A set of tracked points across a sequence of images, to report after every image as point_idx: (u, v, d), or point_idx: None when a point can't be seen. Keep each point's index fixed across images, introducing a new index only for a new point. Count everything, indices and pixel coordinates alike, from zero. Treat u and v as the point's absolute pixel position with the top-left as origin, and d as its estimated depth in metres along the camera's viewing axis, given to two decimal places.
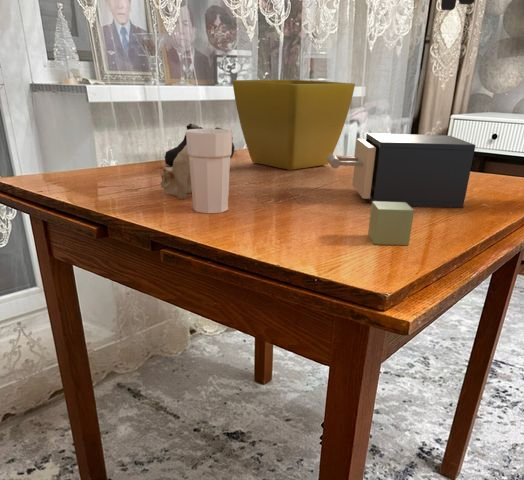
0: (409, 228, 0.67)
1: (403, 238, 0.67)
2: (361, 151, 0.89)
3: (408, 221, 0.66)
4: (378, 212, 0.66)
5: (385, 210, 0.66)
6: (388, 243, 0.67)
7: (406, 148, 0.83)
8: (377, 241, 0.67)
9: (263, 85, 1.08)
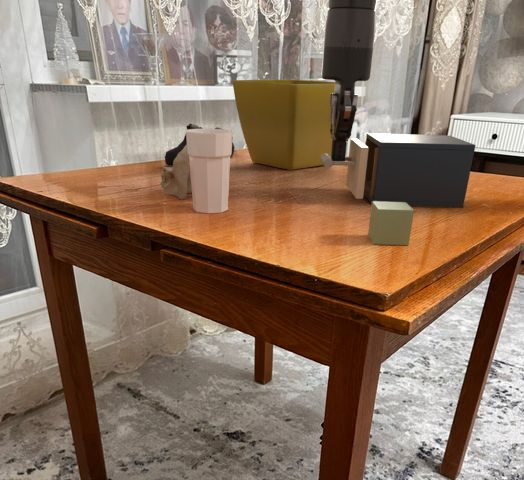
0: (409, 228, 0.67)
1: (403, 238, 0.67)
2: (354, 151, 0.89)
3: (408, 221, 0.66)
4: (378, 212, 0.66)
5: (385, 210, 0.66)
6: (388, 243, 0.67)
7: (406, 148, 0.83)
8: (377, 241, 0.67)
9: (263, 84, 1.08)
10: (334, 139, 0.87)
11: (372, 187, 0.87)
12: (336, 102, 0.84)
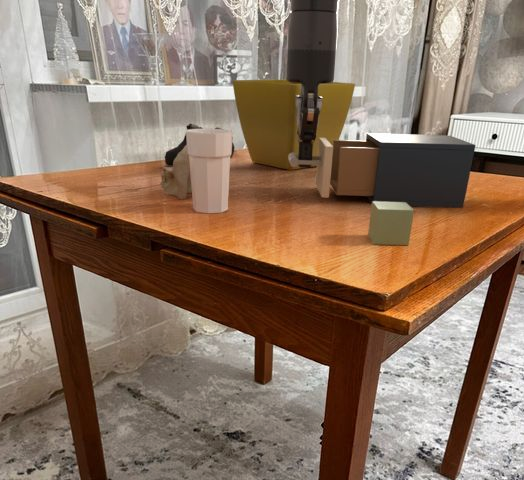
0: (409, 228, 0.67)
1: (403, 238, 0.67)
2: (321, 150, 0.89)
3: (408, 221, 0.66)
4: (378, 212, 0.66)
5: (385, 210, 0.66)
6: (388, 243, 0.67)
7: (406, 148, 0.83)
8: (377, 241, 0.67)
9: (263, 84, 1.08)
10: (300, 141, 0.87)
11: (338, 186, 0.87)
12: (300, 104, 0.84)
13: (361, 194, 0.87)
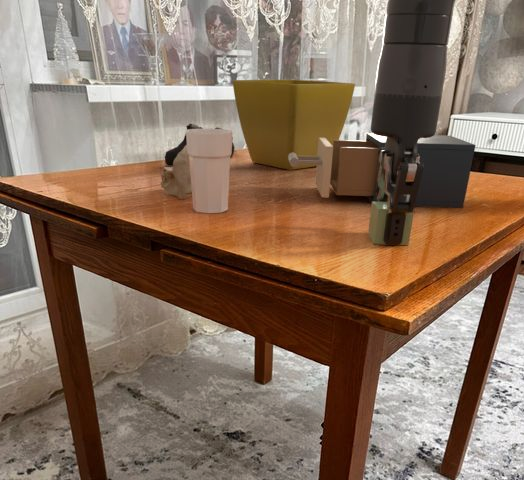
0: (409, 228, 0.67)
1: (403, 238, 0.67)
2: (321, 150, 0.89)
3: (408, 221, 0.66)
4: (378, 212, 0.66)
5: (385, 210, 0.66)
6: None
7: None
8: (377, 241, 0.67)
9: (263, 84, 1.08)
10: (390, 212, 0.65)
11: (338, 186, 0.87)
12: None
13: (361, 194, 0.87)
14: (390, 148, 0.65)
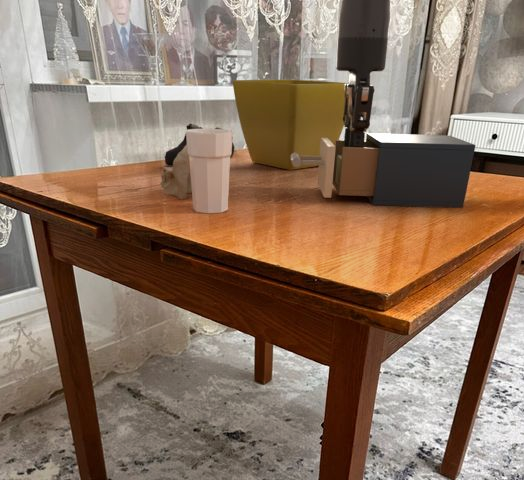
0: None
1: None
2: (323, 150, 0.89)
3: None
4: (340, 161, 0.88)
5: None
6: None
7: (406, 148, 0.83)
8: None
9: (263, 84, 1.08)
10: (352, 130, 0.84)
11: (340, 186, 0.87)
12: (351, 93, 0.83)
13: (363, 194, 0.87)
14: (351, 82, 0.85)
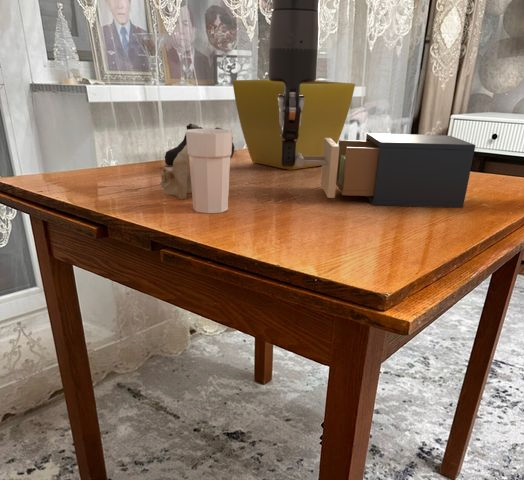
0: None
1: None
2: (327, 150, 0.89)
3: None
4: (344, 161, 0.88)
5: None
6: None
7: (406, 148, 0.83)
8: None
9: (263, 84, 1.08)
10: (283, 140, 0.87)
11: (344, 186, 0.87)
12: (283, 103, 0.84)
13: (367, 194, 0.87)
14: (284, 92, 0.85)
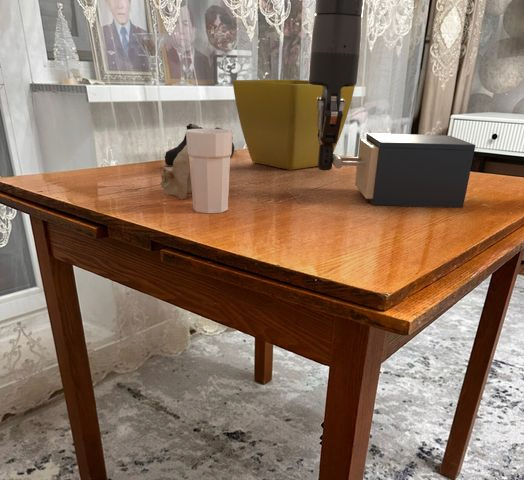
0: None
1: None
2: (364, 151, 0.89)
3: None
4: None
5: None
6: None
7: (406, 148, 0.83)
8: None
9: (263, 84, 1.08)
10: (321, 144, 0.87)
11: None
12: (323, 107, 0.84)
13: None
14: (323, 96, 0.86)
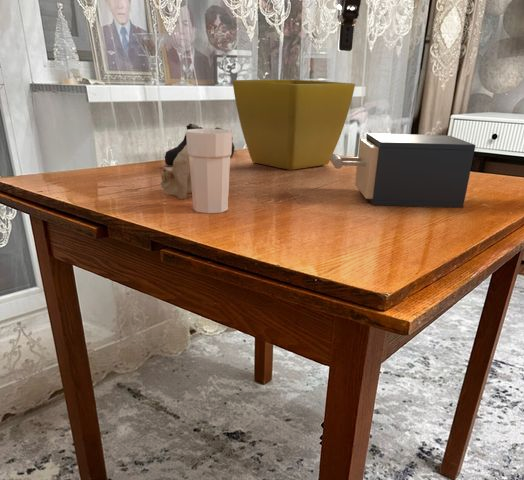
0: None
1: None
2: (364, 151, 0.89)
3: None
4: None
5: None
6: None
7: (406, 148, 0.83)
8: None
9: (263, 84, 1.08)
10: (341, 22, 0.87)
11: None
12: None
13: None
14: None
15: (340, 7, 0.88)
